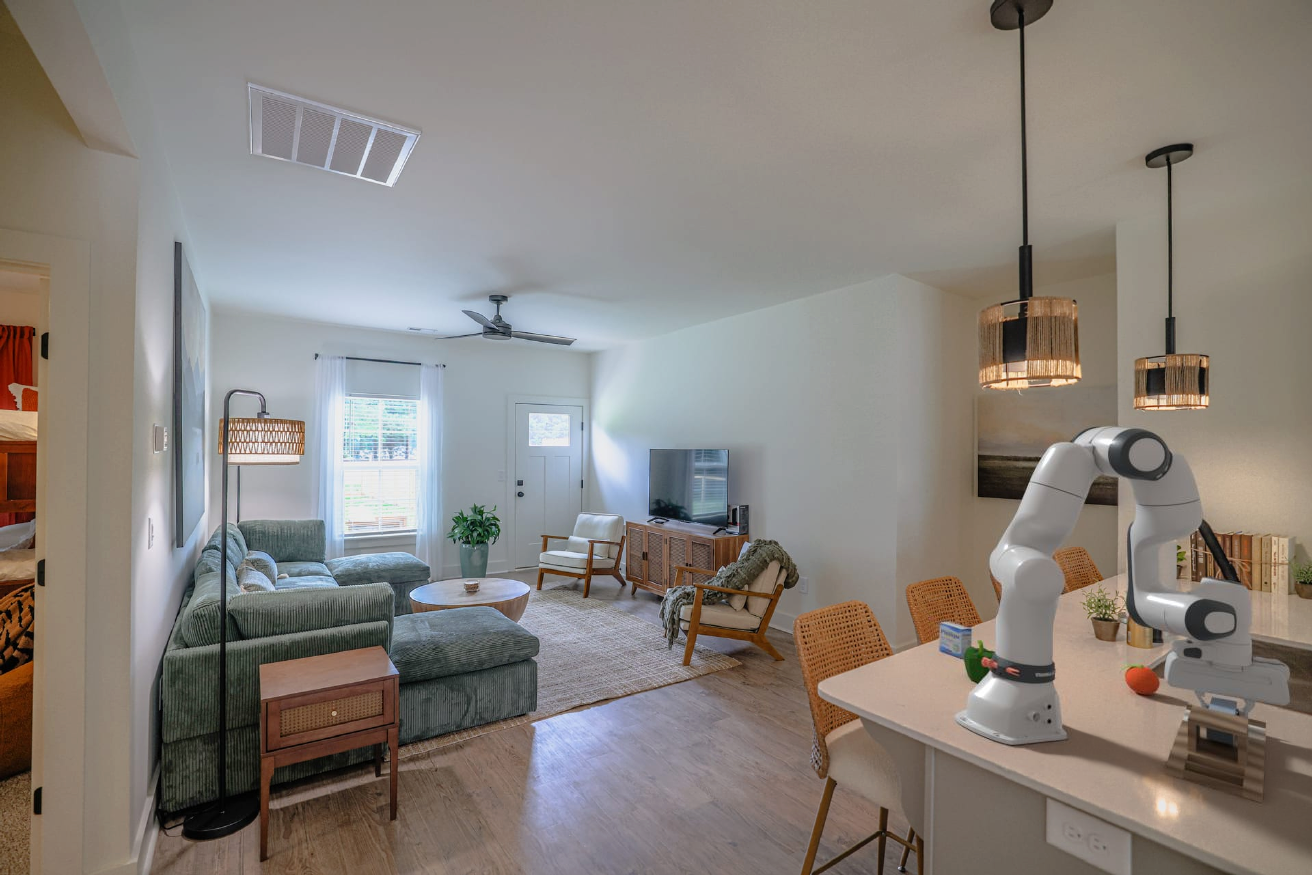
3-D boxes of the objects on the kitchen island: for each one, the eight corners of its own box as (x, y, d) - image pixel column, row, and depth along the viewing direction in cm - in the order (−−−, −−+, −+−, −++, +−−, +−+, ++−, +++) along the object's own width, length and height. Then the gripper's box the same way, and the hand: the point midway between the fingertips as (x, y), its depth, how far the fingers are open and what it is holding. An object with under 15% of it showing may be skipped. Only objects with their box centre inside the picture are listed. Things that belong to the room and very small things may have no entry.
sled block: (1233, 745, 123) (1233, 722, 123) (1206, 738, 126) (1206, 716, 126) (1236, 721, 134) (1236, 701, 134) (1212, 715, 137) (1212, 695, 137)
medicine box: (938, 650, 185) (938, 622, 186) (949, 649, 187) (949, 620, 187) (961, 659, 178) (961, 629, 178) (971, 657, 180) (972, 627, 180)
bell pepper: (996, 689, 155) (996, 649, 156) (961, 681, 160) (961, 642, 161) (1001, 679, 162) (1002, 641, 162) (967, 672, 167) (967, 635, 167)
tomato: (1122, 694, 154) (1122, 666, 154) (1117, 685, 160) (1117, 658, 160) (1163, 701, 150) (1163, 671, 150) (1155, 691, 156) (1155, 663, 156)
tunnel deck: (1262, 802, 106) (1262, 757, 106) (1165, 773, 115) (1165, 731, 115) (1265, 735, 132) (1265, 698, 132) (1186, 715, 141) (1186, 681, 142)
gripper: (1284, 657, 132) (1284, 721, 132) (1162, 640, 143) (1162, 699, 142) (1295, 665, 127) (1295, 732, 126) (1168, 647, 137) (1167, 709, 137)
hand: (1223, 715), depth 135 cm, fingers closed on sled block, 5 cm apart
